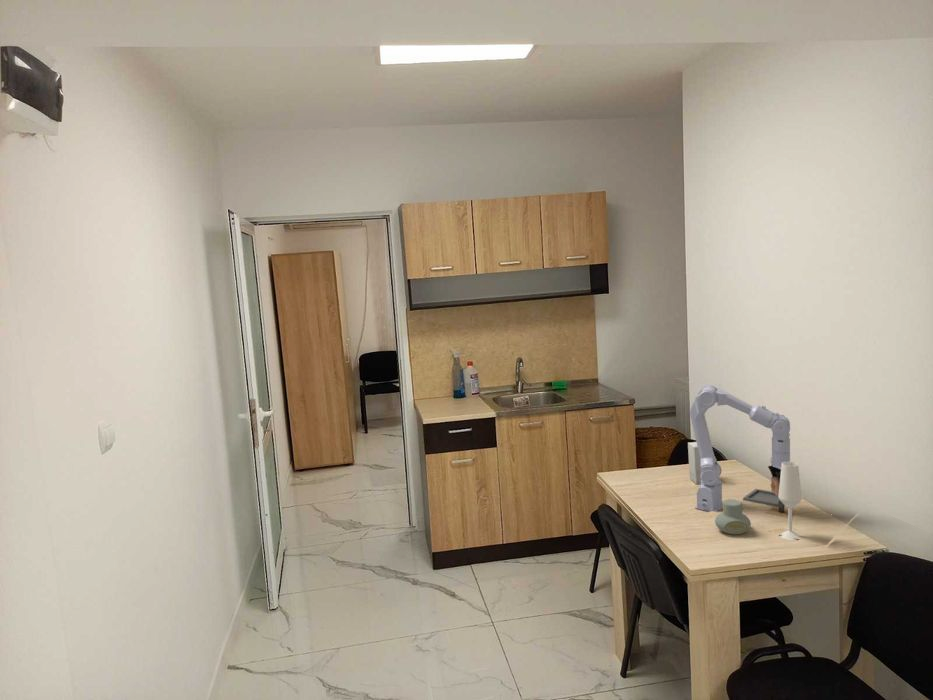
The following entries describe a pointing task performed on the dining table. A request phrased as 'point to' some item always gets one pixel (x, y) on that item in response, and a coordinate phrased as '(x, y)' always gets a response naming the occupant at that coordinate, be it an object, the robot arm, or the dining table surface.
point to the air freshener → (732, 518)
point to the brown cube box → (775, 485)
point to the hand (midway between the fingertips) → (781, 489)
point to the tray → (763, 497)
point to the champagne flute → (790, 494)
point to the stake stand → (780, 510)
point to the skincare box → (694, 462)
